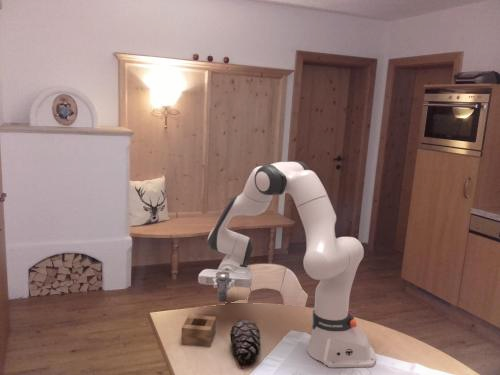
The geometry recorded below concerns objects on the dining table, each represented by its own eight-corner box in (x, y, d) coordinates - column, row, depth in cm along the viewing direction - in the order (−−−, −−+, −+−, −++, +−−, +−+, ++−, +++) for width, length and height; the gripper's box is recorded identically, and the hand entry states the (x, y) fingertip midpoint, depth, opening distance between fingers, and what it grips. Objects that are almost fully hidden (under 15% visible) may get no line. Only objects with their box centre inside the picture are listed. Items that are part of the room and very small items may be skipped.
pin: (229, 297, 165) (230, 271, 163) (227, 303, 160) (228, 276, 158) (217, 296, 166) (217, 271, 164) (214, 302, 161) (214, 275, 159)
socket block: (215, 332, 162) (215, 316, 161) (210, 346, 153) (210, 330, 152) (188, 329, 163) (188, 314, 162) (181, 344, 154) (181, 327, 153)
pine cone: (235, 371, 139) (236, 341, 137) (227, 341, 156) (227, 315, 154) (268, 368, 141) (269, 339, 139) (256, 339, 158) (257, 313, 156)
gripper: (202, 263, 175) (193, 276, 162) (254, 266, 173) (249, 280, 159) (202, 278, 176) (193, 292, 163) (253, 282, 174) (249, 296, 160)
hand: (222, 286), depth 161 cm, fingers closed on pin, 3 cm apart
